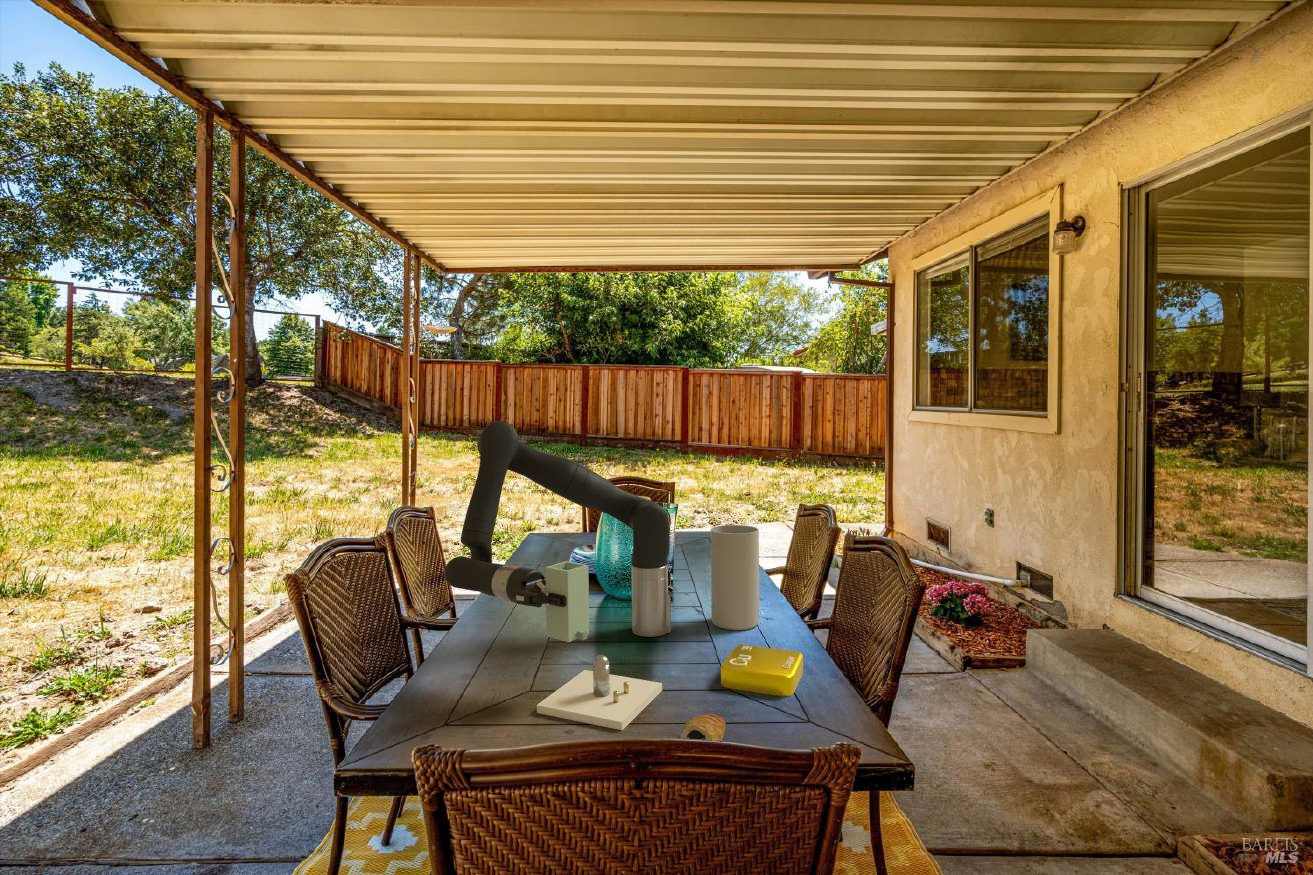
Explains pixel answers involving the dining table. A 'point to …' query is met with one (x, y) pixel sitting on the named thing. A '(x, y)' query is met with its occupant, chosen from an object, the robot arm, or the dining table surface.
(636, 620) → the robot arm
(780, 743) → the dining table surface
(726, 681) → the element tile
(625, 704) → the base plate
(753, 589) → the cylinder vase
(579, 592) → the hollow square tube
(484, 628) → the dining table surface
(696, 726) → the pastry
